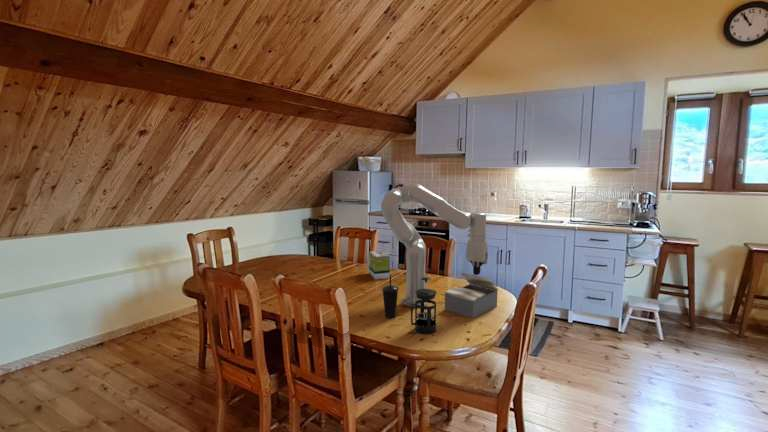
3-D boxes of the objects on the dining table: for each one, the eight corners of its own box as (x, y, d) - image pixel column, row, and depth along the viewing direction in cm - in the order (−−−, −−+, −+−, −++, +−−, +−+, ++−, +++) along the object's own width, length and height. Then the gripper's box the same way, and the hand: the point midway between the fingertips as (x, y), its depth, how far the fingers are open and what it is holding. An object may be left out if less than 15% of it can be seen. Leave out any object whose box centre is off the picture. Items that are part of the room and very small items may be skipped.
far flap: (489, 280, 198) (490, 279, 198) (461, 274, 209) (461, 272, 209) (497, 290, 204) (498, 289, 205) (469, 284, 215) (470, 282, 216)
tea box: (368, 273, 266) (368, 251, 264) (383, 272, 269) (383, 250, 267) (374, 279, 251) (374, 256, 249) (390, 278, 254) (390, 255, 252)
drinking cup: (388, 312, 197) (389, 271, 195) (401, 316, 193) (401, 274, 190) (378, 316, 192) (378, 275, 189) (391, 320, 187) (391, 278, 184)
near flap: (473, 301, 189) (473, 299, 189) (445, 293, 200) (445, 292, 200) (485, 294, 196) (485, 293, 196) (457, 287, 207) (457, 286, 207)
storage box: (473, 318, 190) (473, 301, 189) (444, 309, 201) (445, 293, 200) (496, 306, 206) (497, 290, 204) (469, 298, 217) (469, 284, 215)
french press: (433, 324, 183) (434, 274, 180) (441, 332, 174) (442, 280, 171) (407, 326, 180) (408, 275, 177) (414, 335, 171) (415, 282, 168)
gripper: (460, 236, 204) (459, 272, 206) (487, 240, 194) (486, 278, 196) (468, 234, 209) (467, 270, 212) (495, 238, 199) (494, 275, 201)
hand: (476, 274), depth 204 cm, fingers closed
